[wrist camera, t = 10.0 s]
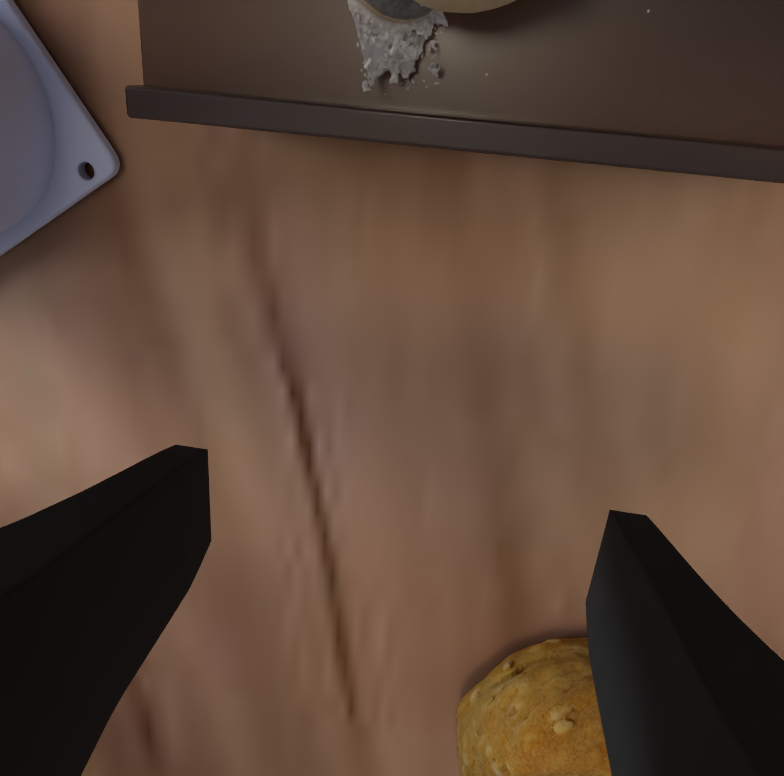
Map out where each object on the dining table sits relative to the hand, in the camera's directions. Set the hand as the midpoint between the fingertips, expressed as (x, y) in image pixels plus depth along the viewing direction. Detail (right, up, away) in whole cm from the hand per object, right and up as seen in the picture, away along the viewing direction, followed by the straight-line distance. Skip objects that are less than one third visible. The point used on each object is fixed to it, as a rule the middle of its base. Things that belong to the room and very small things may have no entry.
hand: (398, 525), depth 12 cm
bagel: (+7, -11, +15) cm, 20 cm away
